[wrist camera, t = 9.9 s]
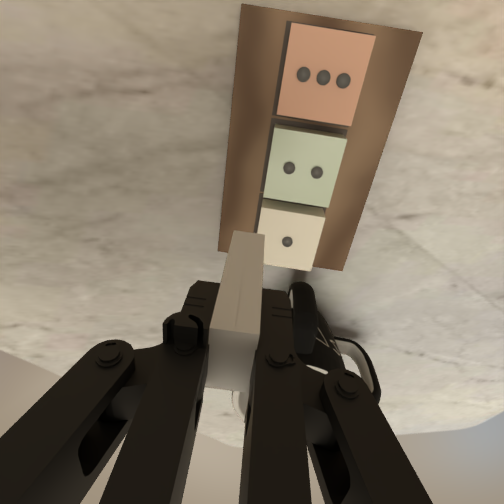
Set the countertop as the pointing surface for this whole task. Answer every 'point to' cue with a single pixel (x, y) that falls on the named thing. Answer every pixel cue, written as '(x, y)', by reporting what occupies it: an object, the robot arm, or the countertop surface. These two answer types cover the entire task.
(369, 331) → the countertop surface
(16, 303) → the countertop surface
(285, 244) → the key
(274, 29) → the board
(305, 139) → the key
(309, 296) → the mug
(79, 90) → the countertop surface
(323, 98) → the key
